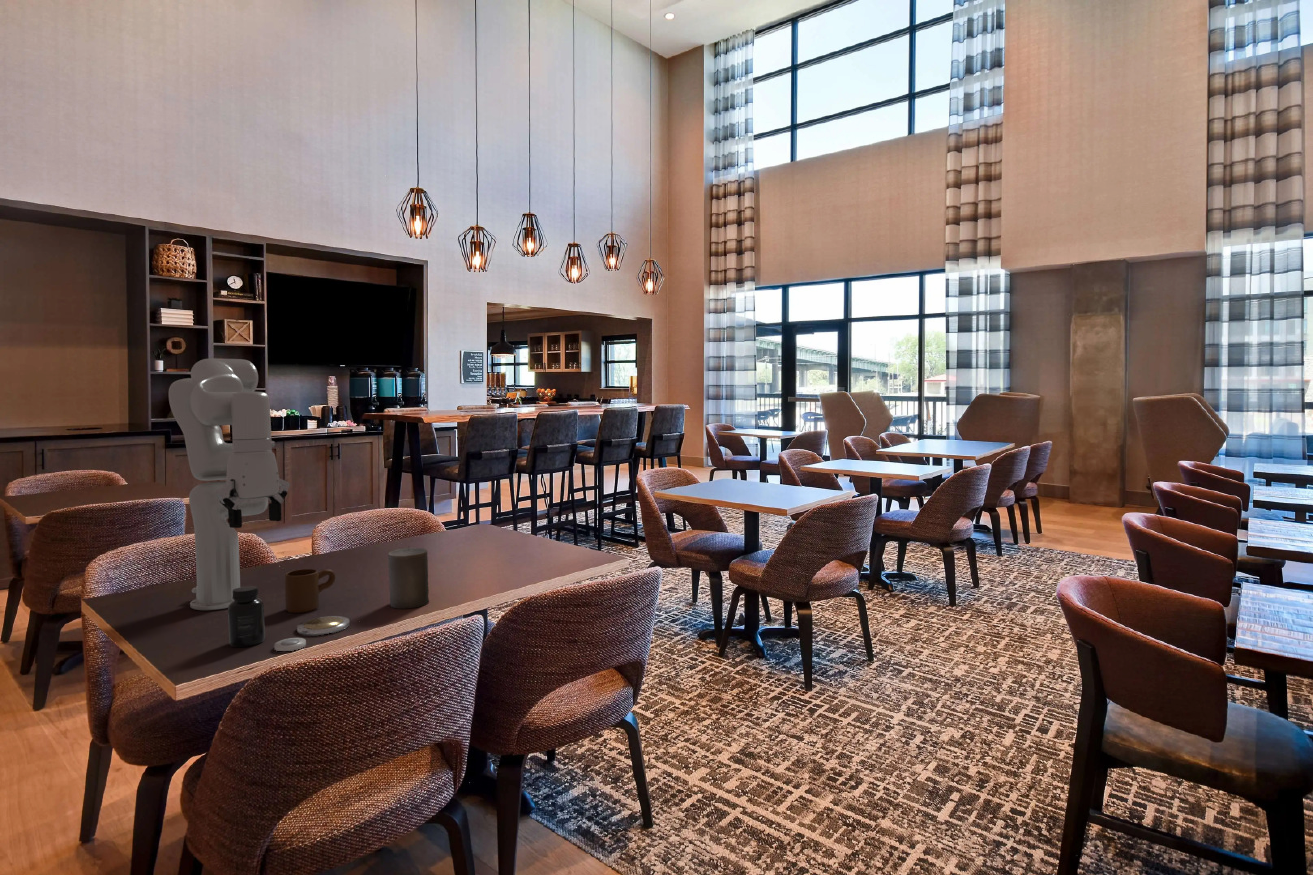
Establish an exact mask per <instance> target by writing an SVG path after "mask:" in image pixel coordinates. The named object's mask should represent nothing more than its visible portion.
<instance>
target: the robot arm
mask: <svg viewBox="0 0 1313 875" xmlns="http://www.w3.org/2000/svg"><path fill="white" fill-rule="evenodd" d="M258 383H259V373H258V370H257V367H256V366H255V365H254V363H252V362H251V361H250V360H247V359H241V358H238V359H237V358H215V357H214V358H213V357H211V358H203V359H201V360H199V361H197V362H195V363H194V365H193V366H192V367H191V370H190V377H187V378H182V379H178V380H175V381H174V382H172V383H171V384H170V386H169V388H168V402H169V406H170V409H171V410H170V411H171V413H172V415H173V418H174V419H175V421H176V422H177V425H178V426H179V427H180V430H181V431H182V434H183V437H184V443H185V447H186V448H185V449H186V454H187V459H188V464H189V469H190V471H191V474H192V476H193V478H194V479H196V480H199V481H205V482H203V483H199V484H197V485H195V486H194V487H193V488H192V489H191V490H190V492H189V496H188V500H189V501H188V503H189V508H190V512H191V517H192V522H193V531H194V546H195V565H196V566H195V569H196V570H195V571H196V575H195V576H196V586H195V587H193V588H192V589H191V592H192V593H193V594H195V595H196V596H195V597H196V598H195V599H193V600H192V601H190V603H189V605H190V608H191V609H193V610H197V611H217V610H223V609H228V606H229V605H230V603H232V602H233V601H234V599H232V596H233V590H234V589H236V588H240V587H241V573H240V570H241V569H240V546H239V540H240V539H239V534H238V531H237V530H236V529H240V528H242V527H243V517H247V516H254V515H259V514H262V513H264V512H265V511H266V510H267V509H268V520H269V521H271V522H272V521H273V522H281V521H282V504H283V503H284V499H285V498H286V497H287V495H288V491H289V488H290V486H291V483H290V482H289V481H286V480H285V479H282V478H280V475H279V468H278V462H277V459H276V454H275V452H273V448H274V447H275V446H276V442H275V441H274V440H272V425H271V423H272V422H271V403H270V397H269V395H268V394H267V392H263V391H256V389H257V387H258ZM221 426H231V428H232V429H231V431H232V432H231V434H232V443H231V442H230V443H228V442H225V440H224V435H223V431H222V428H221ZM206 481H209V482H206ZM227 520H228V521H227Z"/></svg>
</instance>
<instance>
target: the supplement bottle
mask: <svg viewBox="0 0 1313 875" xmlns="http://www.w3.org/2000/svg"><path fill="white" fill-rule="evenodd" d="M258 596H259V588H258V586H255V585H248V586H240V588H236V589H234V590H233V596H232V599H234V601H233V602H232V603H230V605H229V606H228V608H227V616H228V617H227V618H228V619H227V621H228V639H229V640H228V641H229V643H228V644H229V645H230V646H231V647H233V648H248V647H252V646H256V645H258V644H261V643H263V642H264V641H265V638H266V632H265V631H266V627H265V625H266V624H265V605H264V601H263V600H262V599H261V598H259V597H258Z"/></svg>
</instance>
